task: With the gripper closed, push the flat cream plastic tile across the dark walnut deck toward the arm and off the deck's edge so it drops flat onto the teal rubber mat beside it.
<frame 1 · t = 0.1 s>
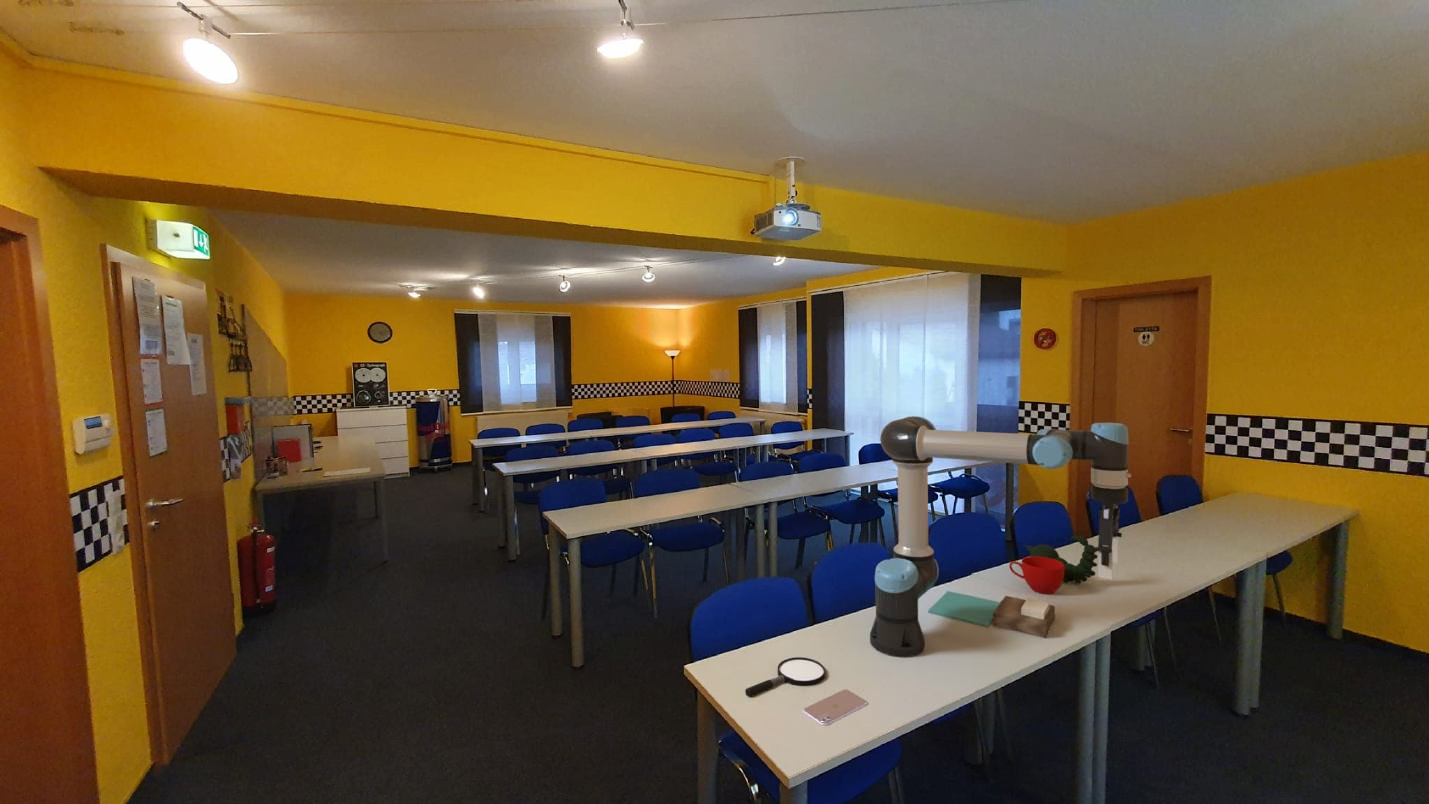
hand: (1108, 569, 142), 28 cm above the table, tool pointing down, fingers open, 13 cm apart
toy figurine: (1058, 578, 210), on the table
ceramic cup: (1036, 590, 201), on the table
mat: (966, 608, 187), on the table
mobile phone: (835, 709, 136), on the table
magnifying glass: (784, 682, 148), on the table
tile: (1035, 611, 174), point 4 cm above the table, touching deck
deck: (1024, 622, 176), on the table
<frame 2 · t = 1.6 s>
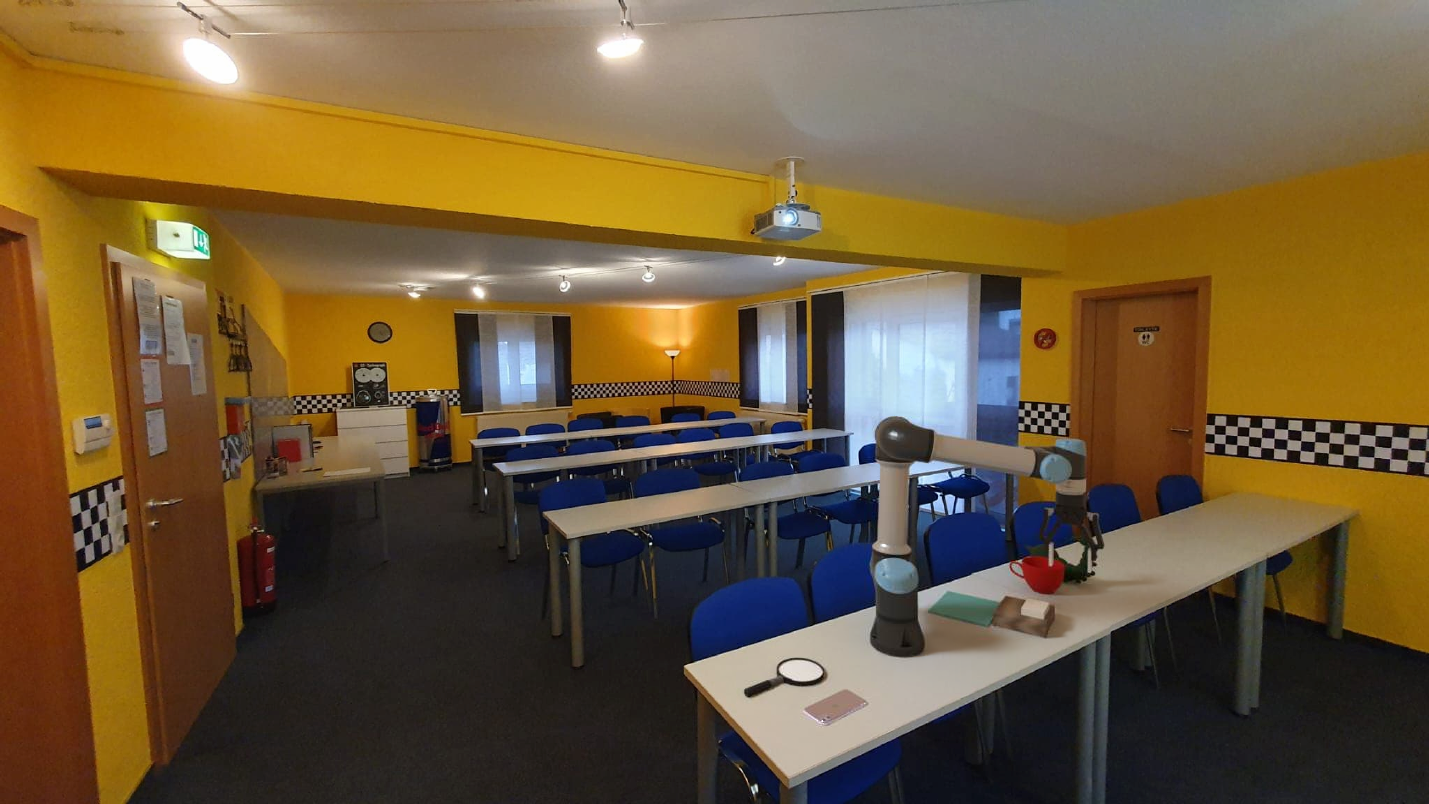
hand: (1070, 567, 167), 19 cm above the table, tool pointing down, fingers open, 9 cm apart
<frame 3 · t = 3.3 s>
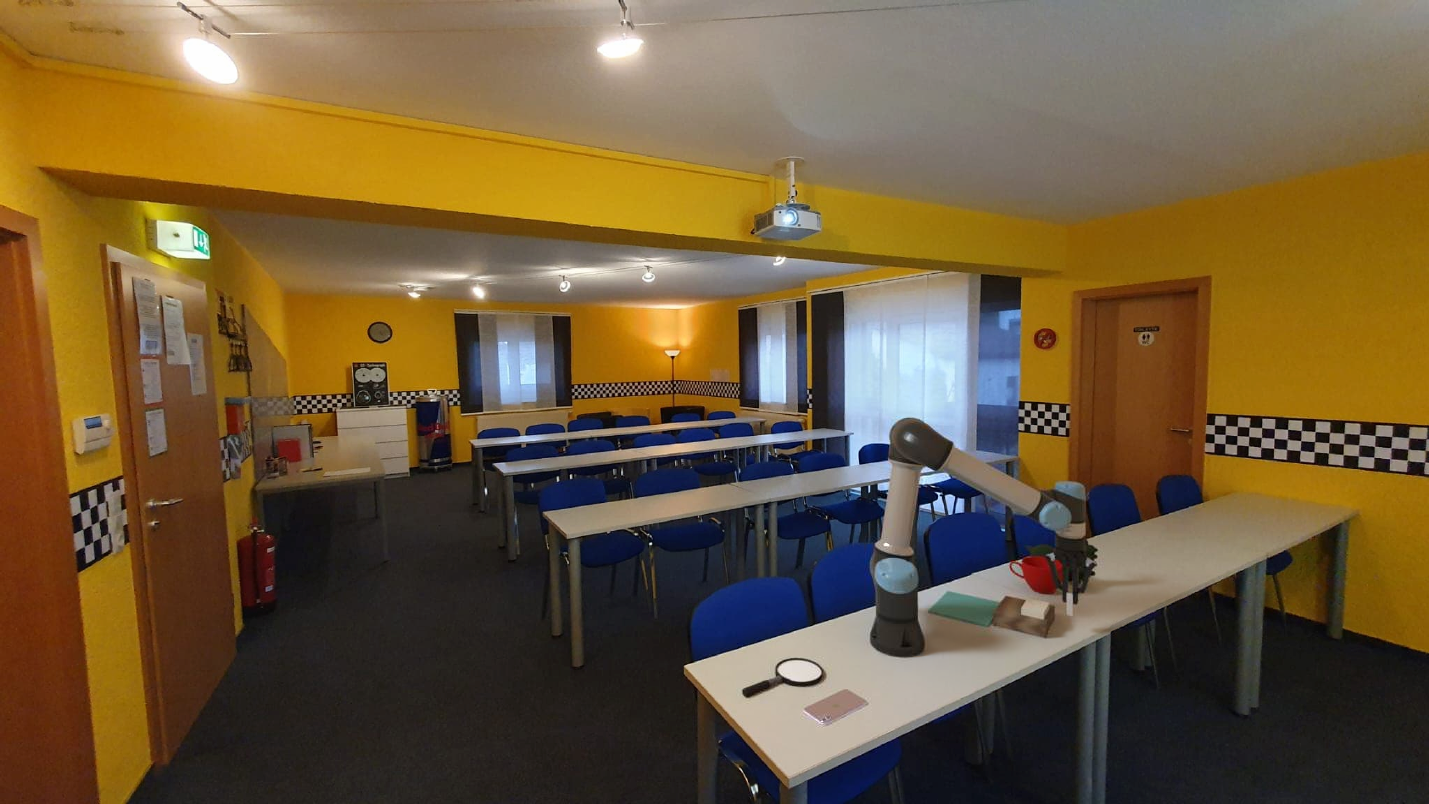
hand: (1070, 613, 168), 6 cm above the table, tool pointing down, fingers closed
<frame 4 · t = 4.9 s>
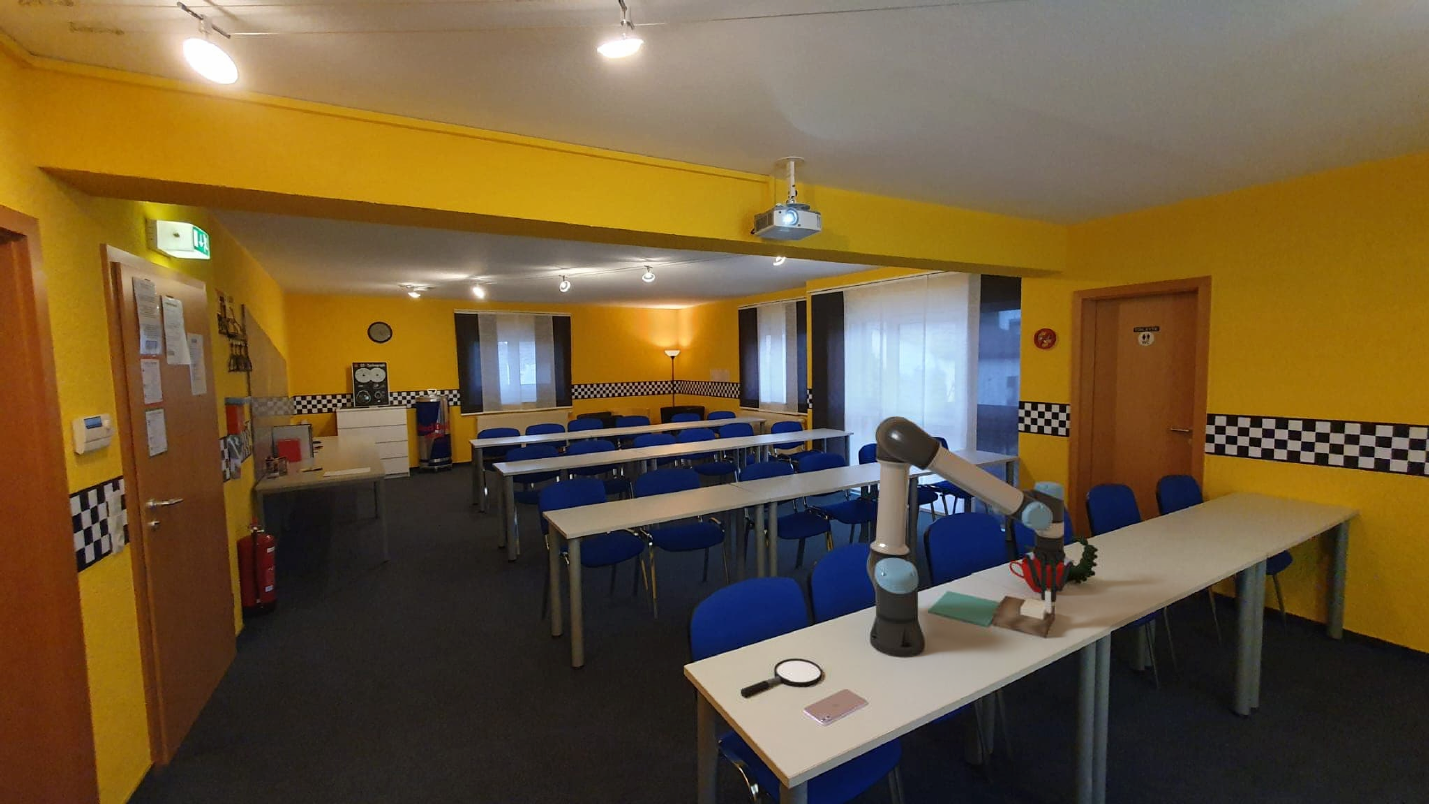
hand: (1048, 611, 172), 5 cm above the table, tool pointing down, fingers closed
tile: (1034, 611, 174), point 4 cm above the table, touching deck, gripper
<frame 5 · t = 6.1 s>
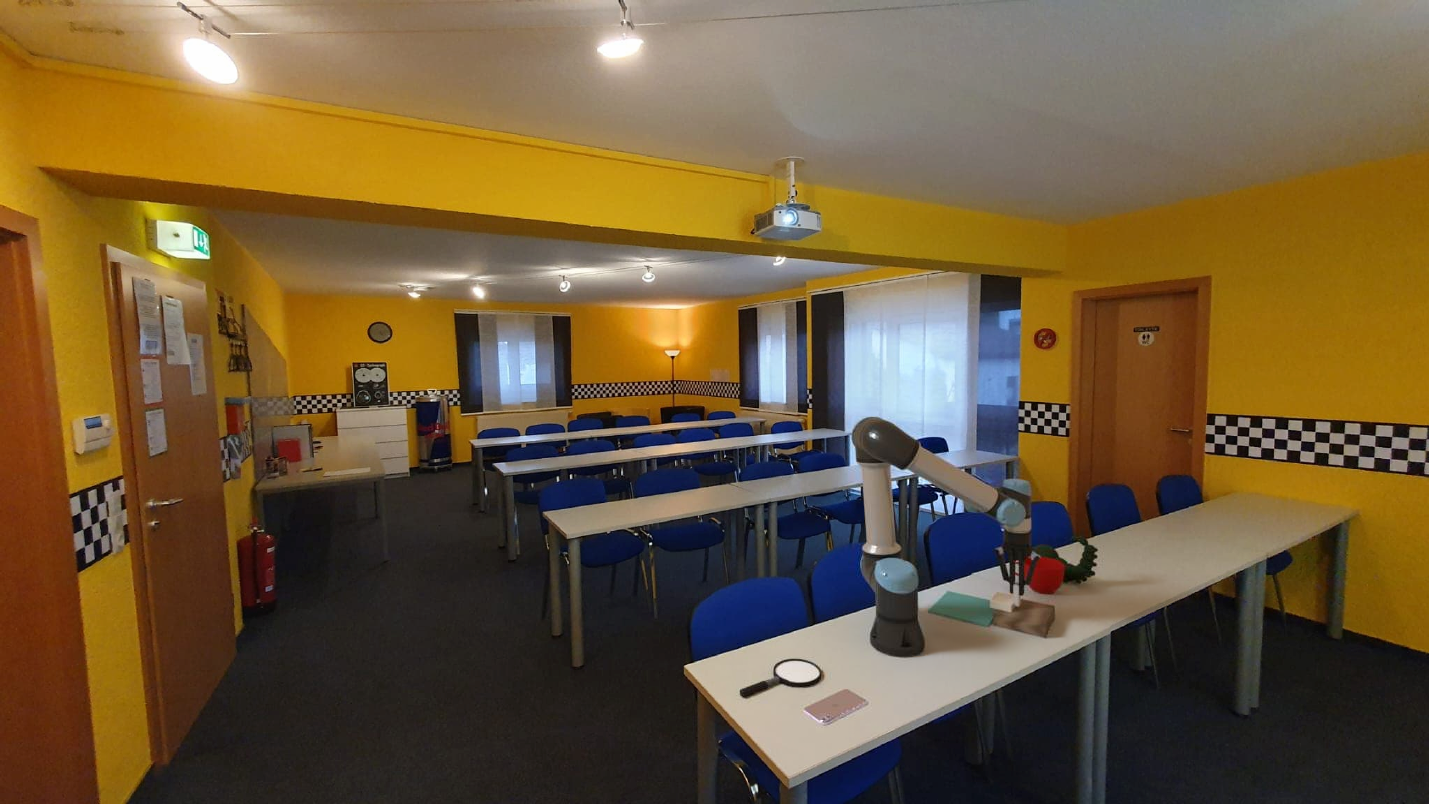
hand: (1016, 604, 177), 5 cm above the table, tool pointing down, fingers closed
tile: (1004, 604, 180), point 4 cm above the table, touching gripper
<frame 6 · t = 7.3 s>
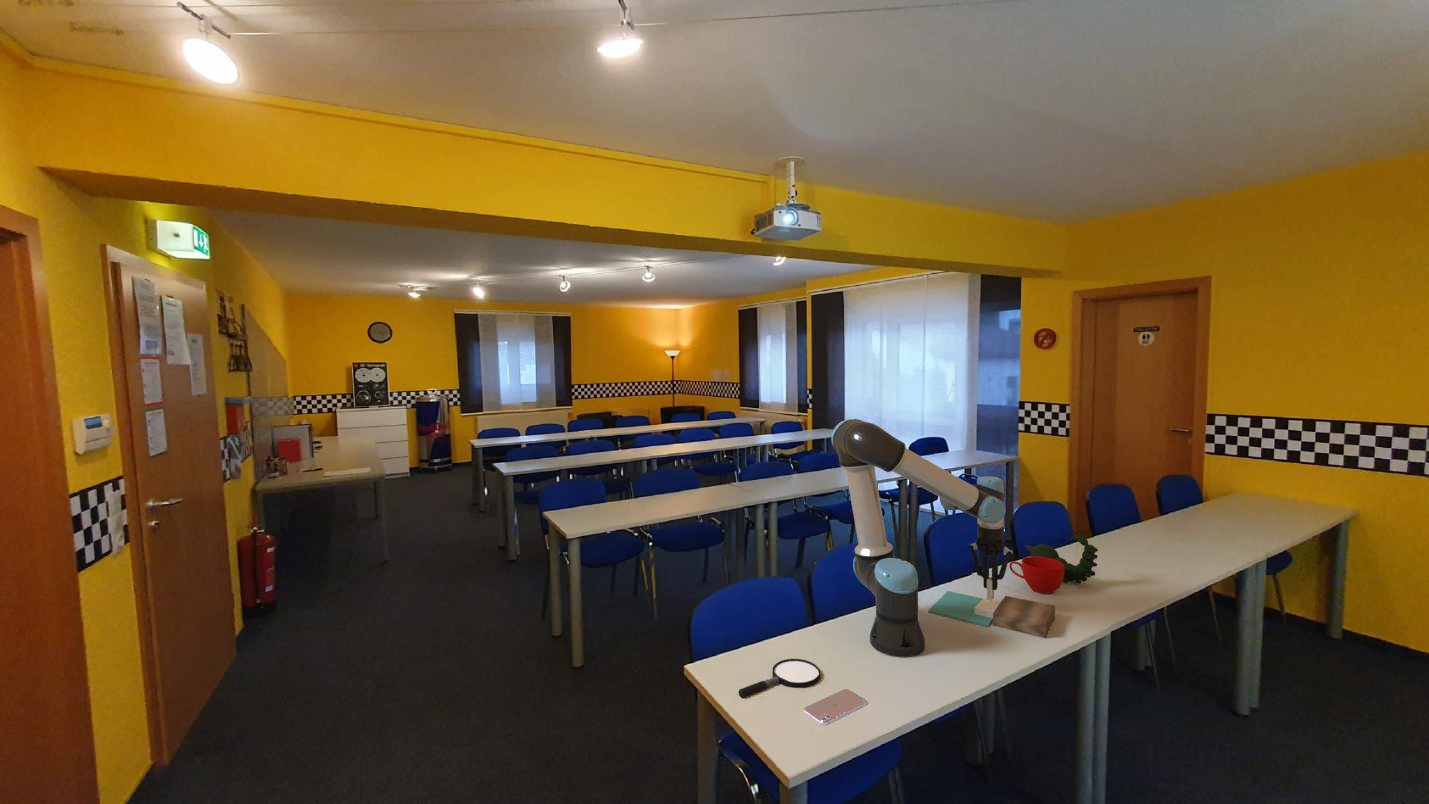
hand: (990, 598, 182), 5 cm above the table, tool pointing down, fingers closed
tile: (988, 611, 183), point 1 cm above the table, touching mat
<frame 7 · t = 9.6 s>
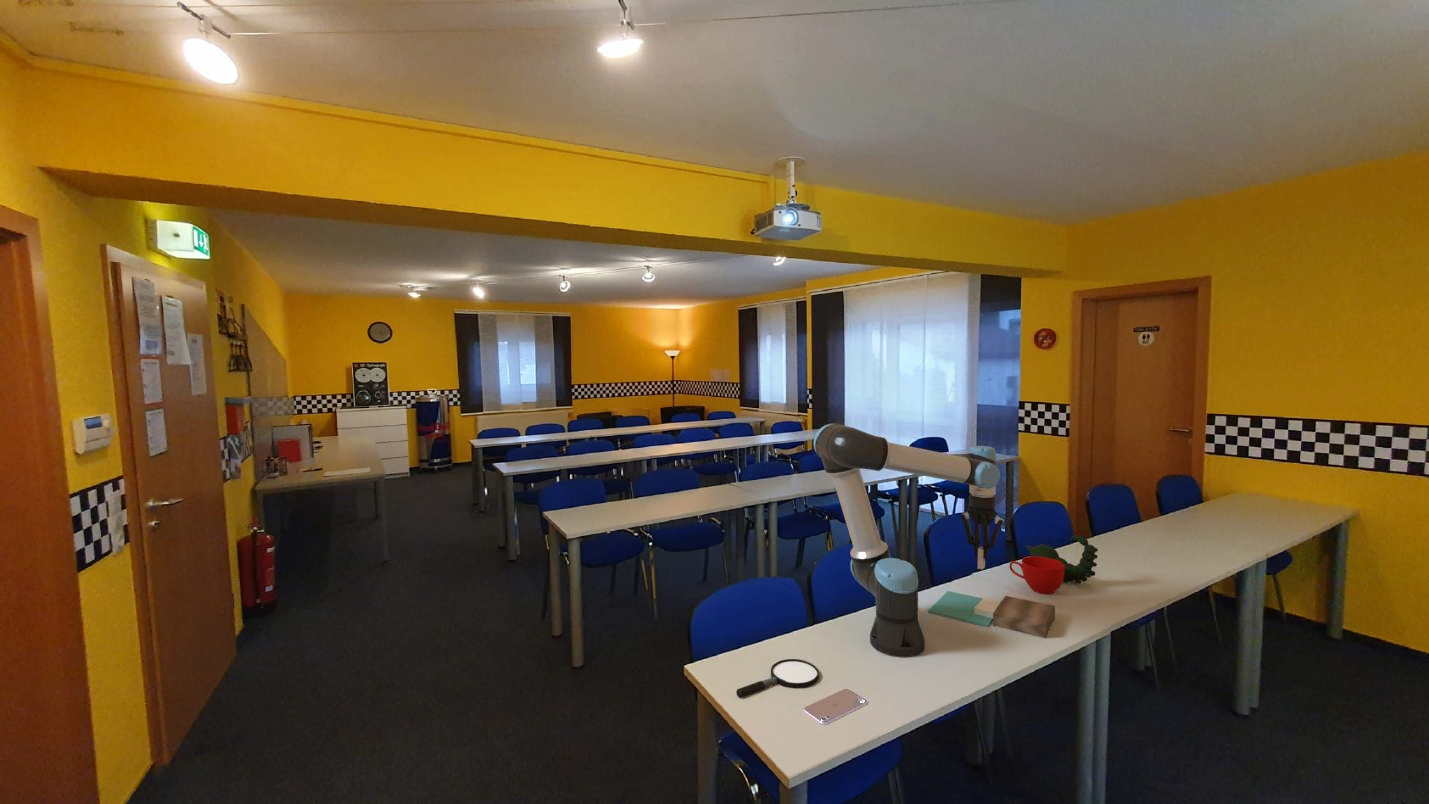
hand: (981, 567, 183), 15 cm above the table, tool pointing down, fingers closed
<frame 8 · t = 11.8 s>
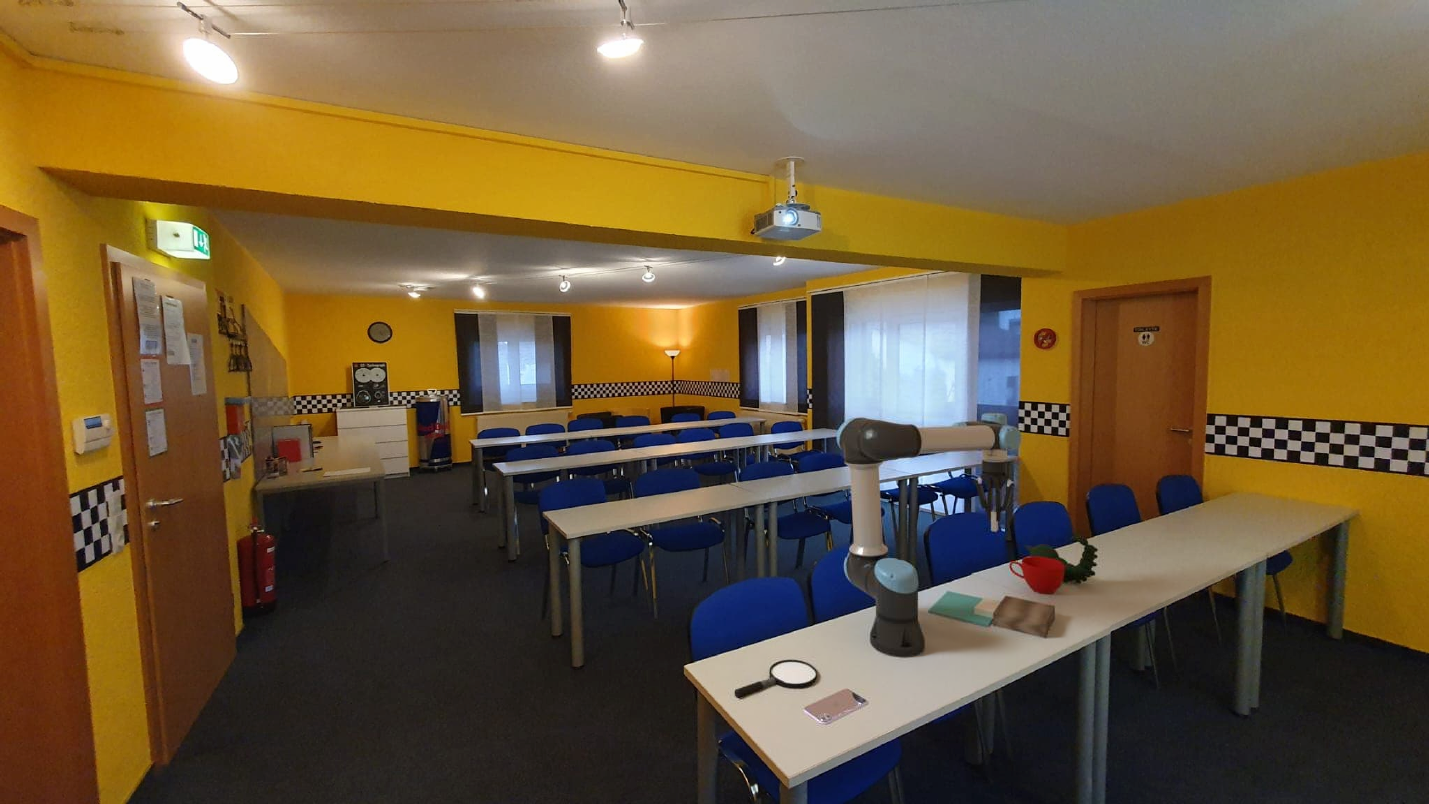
hand: (994, 530, 190), 24 cm above the table, tool pointing down, fingers closed
at the end: tile inside the target area on the mat (6.7 cm from its centre), point 0.6 cm above the mat's base; tile tilted 0° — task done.
